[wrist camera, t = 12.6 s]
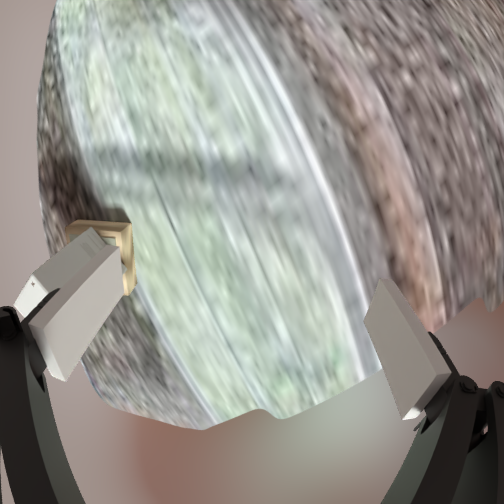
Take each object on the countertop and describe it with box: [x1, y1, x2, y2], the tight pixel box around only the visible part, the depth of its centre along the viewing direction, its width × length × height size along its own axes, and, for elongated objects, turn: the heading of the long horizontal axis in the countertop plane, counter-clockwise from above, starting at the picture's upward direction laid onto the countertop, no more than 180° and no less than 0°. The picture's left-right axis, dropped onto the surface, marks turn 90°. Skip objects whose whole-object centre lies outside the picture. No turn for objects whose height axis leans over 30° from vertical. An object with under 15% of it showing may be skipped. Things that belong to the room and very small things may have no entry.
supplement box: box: [14, 227, 127, 318], centre depth 34 cm, size 9×9×15 cm
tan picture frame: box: [65, 219, 137, 296], centre depth 42 cm, size 11×11×4 cm
